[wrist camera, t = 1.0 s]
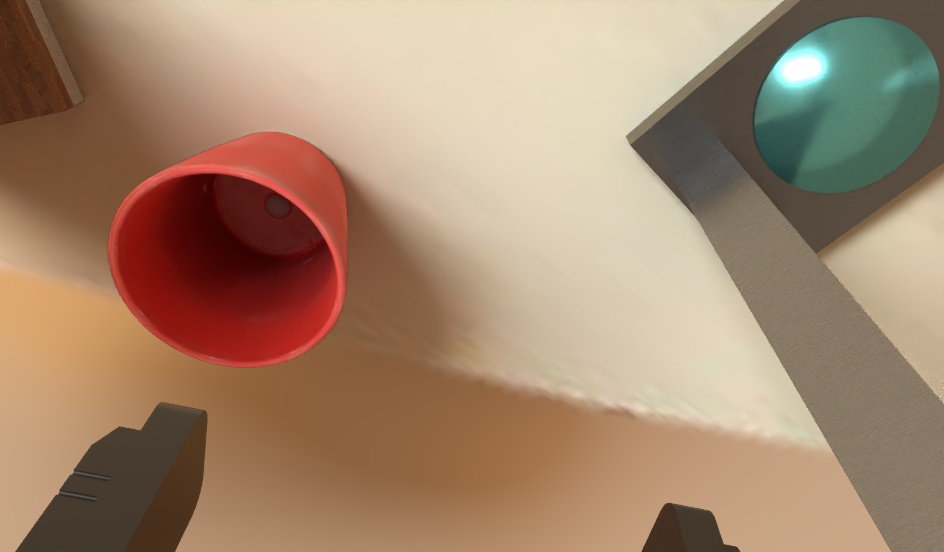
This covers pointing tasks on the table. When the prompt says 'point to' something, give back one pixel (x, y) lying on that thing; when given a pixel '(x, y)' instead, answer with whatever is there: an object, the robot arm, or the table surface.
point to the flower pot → (236, 251)
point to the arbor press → (822, 218)
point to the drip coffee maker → (32, 64)
